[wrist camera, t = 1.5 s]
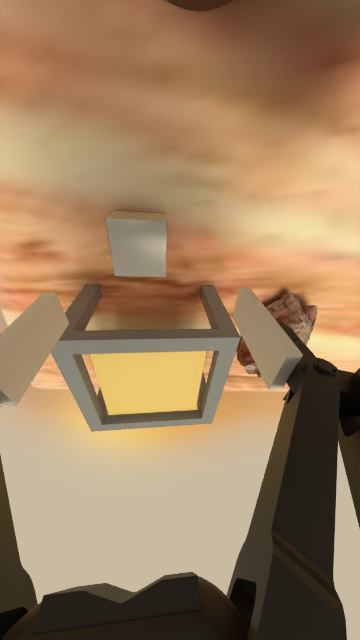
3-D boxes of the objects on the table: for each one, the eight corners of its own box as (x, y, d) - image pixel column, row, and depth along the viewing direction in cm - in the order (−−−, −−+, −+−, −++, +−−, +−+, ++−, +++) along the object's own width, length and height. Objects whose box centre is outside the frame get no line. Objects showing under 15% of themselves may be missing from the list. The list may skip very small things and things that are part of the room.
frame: (85, 284, 28) (45, 340, 18) (213, 286, 30) (240, 337, 20) (108, 369, 40) (91, 431, 30) (199, 366, 42) (211, 423, 32)
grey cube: (116, 210, 23) (105, 218, 18) (165, 213, 24) (166, 221, 19) (122, 259, 26) (114, 276, 22) (164, 260, 27) (165, 277, 22)
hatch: (91, 344, 22) (88, 350, 21) (205, 342, 24) (206, 347, 23) (110, 408, 30) (108, 414, 29) (194, 404, 32) (195, 409, 31)
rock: (358, 302, 23) (349, 384, 30) (307, 276, 32) (309, 343, 39) (233, 335, 26) (251, 402, 33) (221, 303, 35) (236, 360, 42)
